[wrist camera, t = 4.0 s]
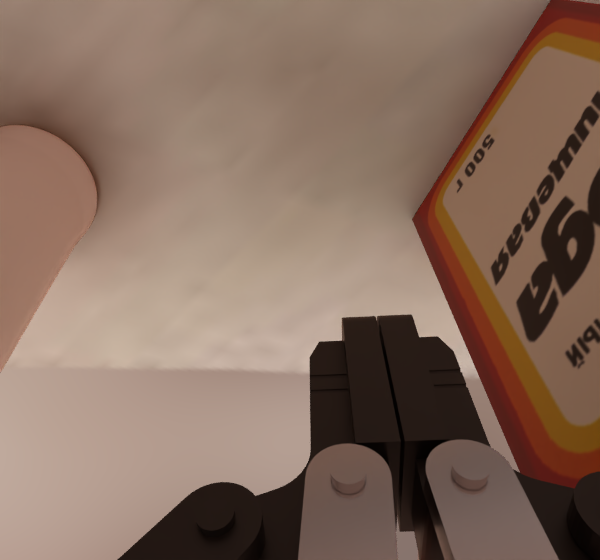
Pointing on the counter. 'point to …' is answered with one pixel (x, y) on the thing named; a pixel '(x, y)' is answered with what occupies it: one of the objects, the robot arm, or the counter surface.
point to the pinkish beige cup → (37, 221)
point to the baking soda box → (531, 245)
